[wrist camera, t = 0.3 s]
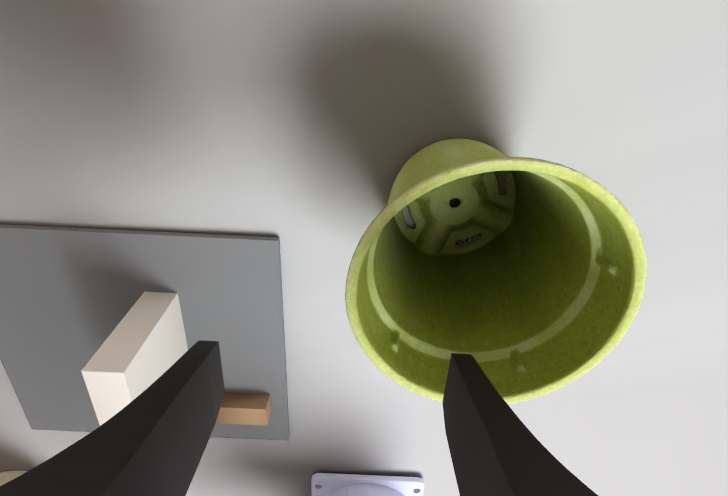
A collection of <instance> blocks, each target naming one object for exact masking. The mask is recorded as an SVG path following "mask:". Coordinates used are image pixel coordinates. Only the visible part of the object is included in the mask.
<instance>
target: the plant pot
mask: <svg viewBox="0 0 728 496" xmlns="http://www.w3.org/2000/svg"><path fill="white" fill-rule="evenodd" d="M494 171H499V172H500V173H501V175H502V176H503V178H504V180H505V182H506V188H507V190H506V193H505V195H503V196H501V195H500V194H499V187H498V182H497V179H496V175H495V174H494ZM454 198H457V199H459V200H460V204H459V206H458V207H455V208H454V207H450V205H449V203H450V200H451V199H454ZM406 206H408V207H409V211H410V215H411V218H412V220H413V222H414V223H415V224H416V228H415V229H412V228H410V227H409V226H407V224H406V222H405V219H404V216H403V213H402V209H403V208H404V207H406ZM479 233H481V237H480V239H478V240H476V241H474V242H472V243H469V244H466V245H462V246H460V245H457V244H456V241H458V240H462V239H468V238H471V237H474V236H475V235H477V234H479ZM646 277H647V257H646V251H645V247H644V244H643V241H642V237H641V234H640V231H639V229H638V227H637V225H636V223H635V221H634V219H633V217H632V216H631V215H630V213H629V212H628V211H627V209H626V208H625V207H624V205H623V204H622V203H621V202H620V201H619V200H618V199H617V198H616V197H615V196H614V195H613V194H612V193H611V192H610V191H609V190H608V189H606V188H605V187H604V186H602V185H601V184H599V183H598V182H597V181H595V180H593V179H591V178H590V177H588V176H586V175H584V174H582V173H580V172H578V171H576V170H574V169H572V168H569V167H566V166H564V165H561V164H558V163H554V162H550V161H546V160H541V159H534V158H525V157H509V156H507V155H505V154H503V153H502V152H500V151H498V150H496V149H495V148H493V147H491V146H489V145H487V144H485V143H482V142H479V141H475V140H471V139H461V138H456V139H447V140H442V141H439V142H435V143H433V144H431V145H429V146H427V147H425V148H423V149H422V150H420V151H418V152H417V153H416V154H414V155H413V156H412V157H411V158H410V159H409V160H408V161H407V162H406V163H405V164H404V165H403V167H402V168H401V170H400V171H399V173H398V175H397V177H396V179H395V181H394V183H393V186H392V189H391V192H390V196H389V200H388V203H387V206H386V207H385V208H384V209H383V210H382V211H381V212H380V213H379V215H378V216H377V217H376V218H375V219H374V220H373V221H372V223H371V224H370V225H369V227H368V228H367V230H366V231H365V233H364V234H363V236H362V237H361V239H360V241H359V243H358V245H357V248H356V250H355V252H354V254H353V257H352V260H351V263H350V267H349V270H348V275H347V281H346V293H345V300H346V310H347V315H348V319H349V323H350V325H351V329H352V331H353V333H354V335H355V337H356V340H357V341H358V343H359V345H360V347H361V348H362V350H363V351H364V353H365V354H366V355H367V357H368V358H369V359H370V360H371V361H372V363H373V364H374V365H375V366H376V367H377V368H378V369H379V370H380V371H381V372H383V373H384V374H385V375H386V376H387V377H389V378H391V379H392V380H393V381H395V382H396V383H398V384H399V385H401V386H403V387H404V388H406V389H408V390H410V391H412V392H415V393H417V394H420V395H423V396H425V397H427V398H430V399H433V400H435V401H441V402H443V396H444V391H445V386H446V380H447V375H448V369H449V364H450V359H451V353H457V354H471V355H472V356H473V357H474V358H475V360H476V361H477V363H478V364H479V366H480V367H481V369H482V370H483V371H484V373H485V374H486V376H487V377H488V379H489V380H490V381H491V383H492V384H493V386H494V387H495V388H496V390H497V391H498V393H499V394H500V395H501V397H502V398H503V399H504V400H505V402H506V403H507V404H512V403H517V402H522V401H525V400H529V399H532V398H536V397H539V396H543V395H546V394H548V393H550V392H553V391H555V390H557V389H560V388H561V387H563V386H565V385H567V384H569V383H570V382H572V381H574V380H576V379H577V378H579V377H580V376H582V375H583V374H584V373H586V372H588V371H589V370H591V369H592V368H593V367H595V366H596V365H597V364H598V363H599V362H600V361H601V360H602V359H603V358H604V357H605V356H607V355H608V354H609V353H610V352H611V351H612V350H613V348H614V347H616V345H617V344H618V343H619V342H620V341H621V339H622V338H623V336H624V335H625V334H626V332H627V330H628V329H629V327H630V325H631V324H632V322H633V320H634V318H635V316H636V314H637V312H638V310H639V307H640V305H641V302H642V298H643V295H644V291H645V285H646Z"/></svg>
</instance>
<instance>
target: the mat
mask: <svg viewBox="0 0 728 496" xmlns="http://www.w3.org/2000/svg"><path fill="white" fill-rule="evenodd" d="M144 292H164V293H178V298H179V303H180V308H181V314H182V319H183V325H184V330H185V335H186V341H187V346H188V350H189V349H190V348H191V347H192V346H193V345H194V344H195V343H196V342H198V341H199V340H202V341H219V348H220V356H221V364H222V372H223V380H224V387H225V392H234V393H256V394H270V401H271V413H270V417H269V421H268V425H267V426H265V425H242V424H220V423H215V426H214V428H213V431H212V433H211V435H210V437H223V438H246V439H269V440H289V417H288V397H287V378H286V358H285V338H284V319H283V299H282V279H281V260H280V240H279V237H264V236H243V235H221V234H200V233H179V232H158V231H136V230H115V229H94V228H73V227H52V226H30V225H9V224H0V359H1V361H2V364H3V366H4V368H5V370H6V373H7V375H8V377H9V379H10V381H11V384H12V386H13V388H14V390H15V393H16V395H17V397H18V399H19V401H20V404H21V406H22V408H23V410H24V413H25V415H26V417H27V419H28V421H29V424H30V426H31V428H32V429H39V430H62V431H85V432H92V431H94V430H95V429H97V428H98V427H99V426H100V424H99V422H98V419H97V416H96V413H95V410H94V407H93V404H92V401H91V398H90V395H89V392H88V389H87V387H86V384H85V381H84V378H83V375H82V372H81V371H82V369H83V368H84V367H85V366H86V364H87V363H88V362H89V361H90V359H91V358H92V357H93V356H94V354H95V353H96V352H97V351H98V349H99V348H100V347H101V345H102V344H103V343H104V342H105V340H106V339H107V338H108V337H109V335H110V334H111V333H112V332H113V330H114V329H115V328H116V327H117V325H118V324H119V323H120V322H121V320H122V319H123V318H124V317H125V315H126V314H127V313H128V312H129V310H130V309H131V308H132V307H133V305H134V304H135V303H136V302H137V300H138V299H139V298H140V296H141V295H142V294H143V293H144Z"/></svg>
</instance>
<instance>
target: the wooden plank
mask: <svg viewBox="0 0 728 496" xmlns="http://www.w3.org/2000/svg"><path fill="white" fill-rule="evenodd" d="M270 413H271V401H270V394H256V393H234V392H224V395H223V399H222V403H221V407H220V410H219V413H218V417H217V420H216V423H220V424H242V425H265V426H267V425H268V421H269V417H270Z"/></svg>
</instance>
